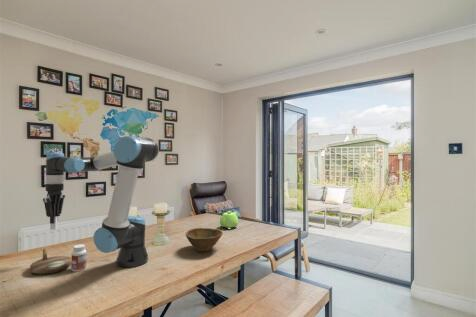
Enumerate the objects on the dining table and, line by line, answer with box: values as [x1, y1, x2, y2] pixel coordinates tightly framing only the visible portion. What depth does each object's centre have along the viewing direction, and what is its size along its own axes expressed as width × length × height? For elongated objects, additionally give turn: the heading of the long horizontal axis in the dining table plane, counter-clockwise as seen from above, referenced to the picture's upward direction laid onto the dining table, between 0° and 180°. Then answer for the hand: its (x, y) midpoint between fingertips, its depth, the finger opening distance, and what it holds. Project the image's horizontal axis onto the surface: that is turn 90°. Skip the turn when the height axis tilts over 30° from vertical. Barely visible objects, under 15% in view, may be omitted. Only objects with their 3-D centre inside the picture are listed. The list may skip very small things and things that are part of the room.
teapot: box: [219, 210, 239, 229], centre depth 208 cm, size 20×13×13 cm
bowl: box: [185, 227, 224, 252], centre depth 158 cm, size 22×23×10 cm
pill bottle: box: [70, 243, 87, 272], centre depth 127 cm, size 6×6×11 cm
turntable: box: [29, 248, 71, 275], centre depth 127 cm, size 16×16×7 cm
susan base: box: [42, 269, 64, 275], centre depth 127 cm, size 12×12×1 cm
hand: (53, 229), depth 136 cm, fingers closed
